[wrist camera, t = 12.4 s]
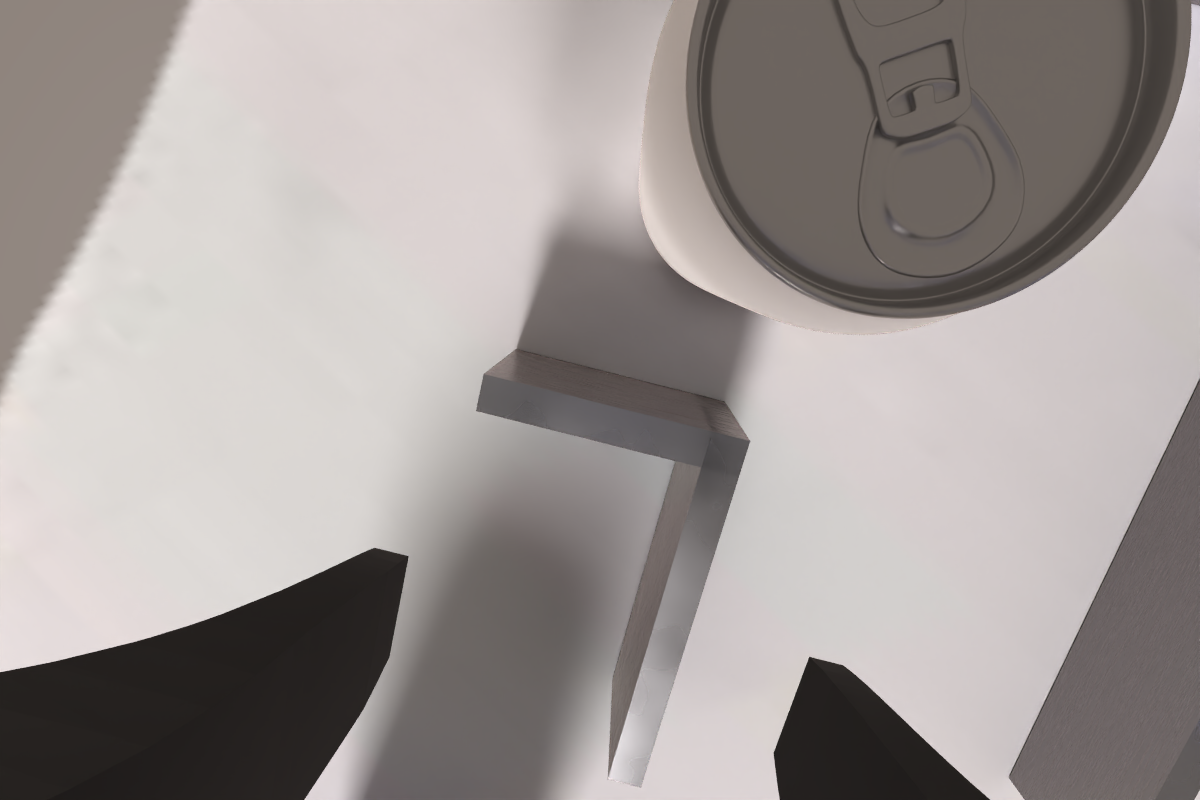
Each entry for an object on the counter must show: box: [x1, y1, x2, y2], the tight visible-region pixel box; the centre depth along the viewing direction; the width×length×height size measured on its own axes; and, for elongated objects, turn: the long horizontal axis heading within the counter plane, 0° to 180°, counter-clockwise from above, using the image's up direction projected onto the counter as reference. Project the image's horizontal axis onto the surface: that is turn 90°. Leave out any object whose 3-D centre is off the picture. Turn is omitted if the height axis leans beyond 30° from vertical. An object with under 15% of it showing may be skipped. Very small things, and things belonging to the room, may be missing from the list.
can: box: [639, 0, 1191, 335], centre depth 13 cm, size 6×6×12 cm
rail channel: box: [476, 0, 1200, 800], centre depth 18 cm, size 22×26×4 cm
